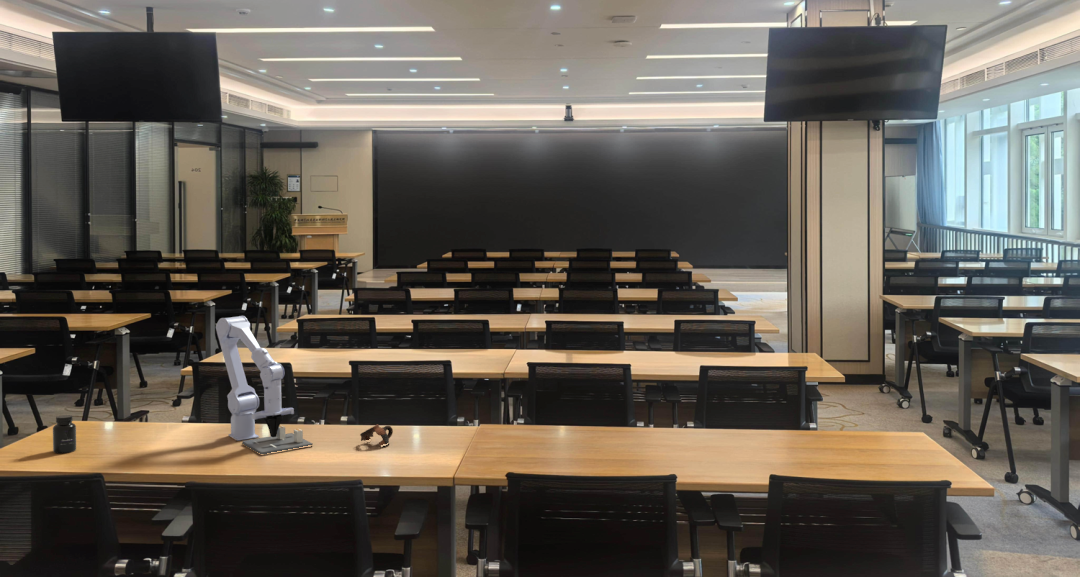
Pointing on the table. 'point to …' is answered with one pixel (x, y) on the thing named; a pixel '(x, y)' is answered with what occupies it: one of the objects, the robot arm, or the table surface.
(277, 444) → the console
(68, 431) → the supplement bottle
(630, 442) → the table surface
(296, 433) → the fader
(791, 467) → the table surface
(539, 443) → the table surface
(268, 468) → the table surface
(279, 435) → the fader
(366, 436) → the brown arched piece
